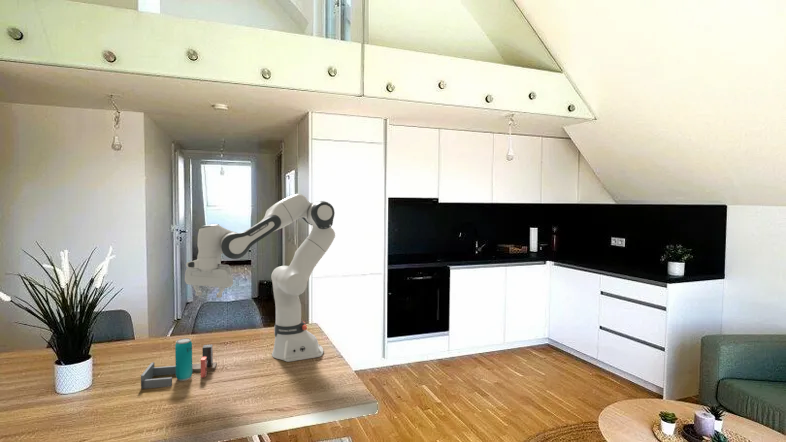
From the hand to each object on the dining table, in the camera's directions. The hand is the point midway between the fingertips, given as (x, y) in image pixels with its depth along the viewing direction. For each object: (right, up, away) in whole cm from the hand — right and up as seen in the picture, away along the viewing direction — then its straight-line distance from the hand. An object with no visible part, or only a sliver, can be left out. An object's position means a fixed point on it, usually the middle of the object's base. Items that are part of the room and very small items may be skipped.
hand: (208, 296), depth 169 cm
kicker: (+1, -29, -5) cm, 29 cm away
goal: (-12, -30, -13) cm, 35 cm away
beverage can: (-5, -30, -11) cm, 32 cm away
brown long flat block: (-5, -29, -3) cm, 30 cm away
